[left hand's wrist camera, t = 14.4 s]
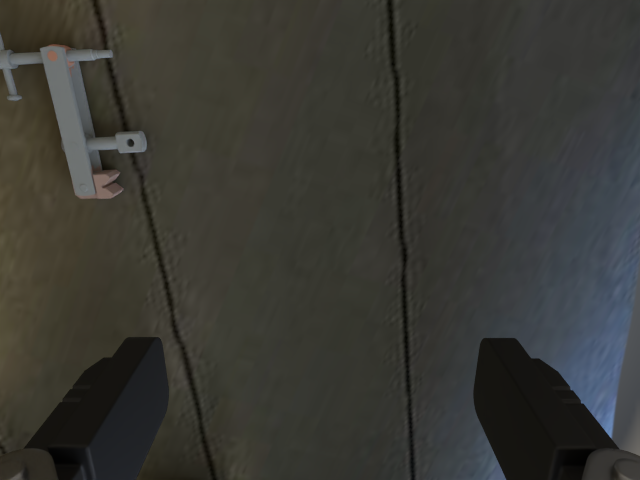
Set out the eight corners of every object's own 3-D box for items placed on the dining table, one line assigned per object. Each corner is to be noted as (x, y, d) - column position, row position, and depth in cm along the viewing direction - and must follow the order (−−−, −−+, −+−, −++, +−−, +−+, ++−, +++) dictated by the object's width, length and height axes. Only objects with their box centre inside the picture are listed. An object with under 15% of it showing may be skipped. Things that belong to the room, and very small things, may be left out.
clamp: (148, 196, 36) (25, 203, 36) (158, 190, 38) (41, 196, 39) (108, -17, 31) (-36, -9, 31) (121, -12, 33) (-13, -4, 33)
